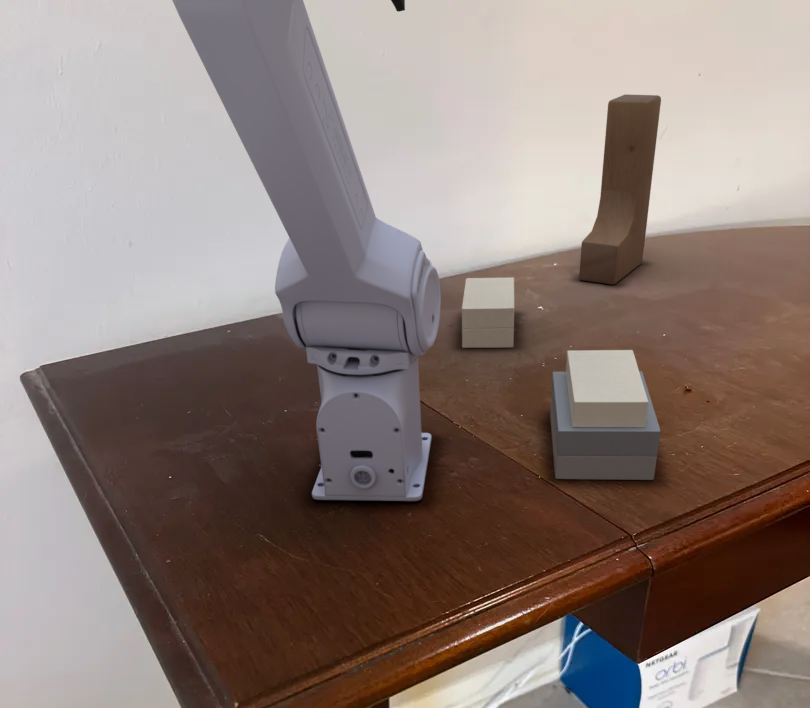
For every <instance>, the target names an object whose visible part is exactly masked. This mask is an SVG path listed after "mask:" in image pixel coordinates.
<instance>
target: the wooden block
mask: <svg viewBox="0 0 810 708" xmlns="http://www.w3.org/2000/svg"><path fill="white" fill-rule="evenodd" d="M661 104H662V96H660V95H656V94H655V95H654V94H622V95H620V96H618V97H615V98H611V99H610V100H609V101H608V103H607V111H606V112H607V113H606V124H605V136H604V150H603V160H602V161H603V162H602V172H601V173H602V174H601V186H600V198H599V203H598V208H597V214H596V218H595V221H594V223H593V226H592V229H591V231H590V232H589V233H588V234H587V235H586V236H585V238H584V239H582V241H581V245H580V261H579V276H578V277H579V280H580V281H586V282H591V283H600V284H606V285H616V284H617V283H618V282H619V281H621V280H622V279H623V278H624V277H626V276H627V275H628V274H630V273H631V272H632V271H634V270H635V269H636V268H637V267H639V266H640V265H641V264H642V262H643V258H644V251H645V250H644V249H645V243H646V233H647V227H648V219H649V218H648V217H649V210H650V209H649V207H650V199H651V189H652V182H653V174H654V164H655V155H656V148H657V139H658V129H659V121H660V113H661Z"/></svg>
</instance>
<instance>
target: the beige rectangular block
mask: <svg viewBox="0 0 810 708" xmlns="http://www.w3.org/2000/svg"><path fill="white" fill-rule="evenodd" d="M565 364H566V365H565V372H566V380H567V388H568V395H569V403H570V411H571V419H572V427H645V424H646V417H647V409H648V399H647V396H646V392H645V389H644V386H643V382H642V379H641V376H640V373H639V371H640V370H639V366H638V362H637V359H636V357H635V353H634V350H633V349H595V350H594V349H591V350H589V349H587V350H586V349H585V350H581V349H580V350H577V349H576V350H575V349H573V350H566V363H565Z"/></svg>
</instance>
